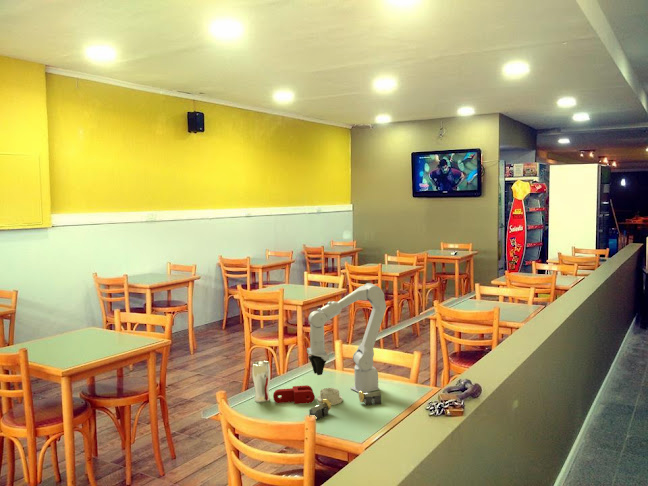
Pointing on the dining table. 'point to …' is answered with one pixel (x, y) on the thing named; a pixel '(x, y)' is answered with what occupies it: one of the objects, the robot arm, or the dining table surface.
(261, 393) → the beer glass
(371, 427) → the dining table surface
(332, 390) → the mechanical component
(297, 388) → the mechanical linkage
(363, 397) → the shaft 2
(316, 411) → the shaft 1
